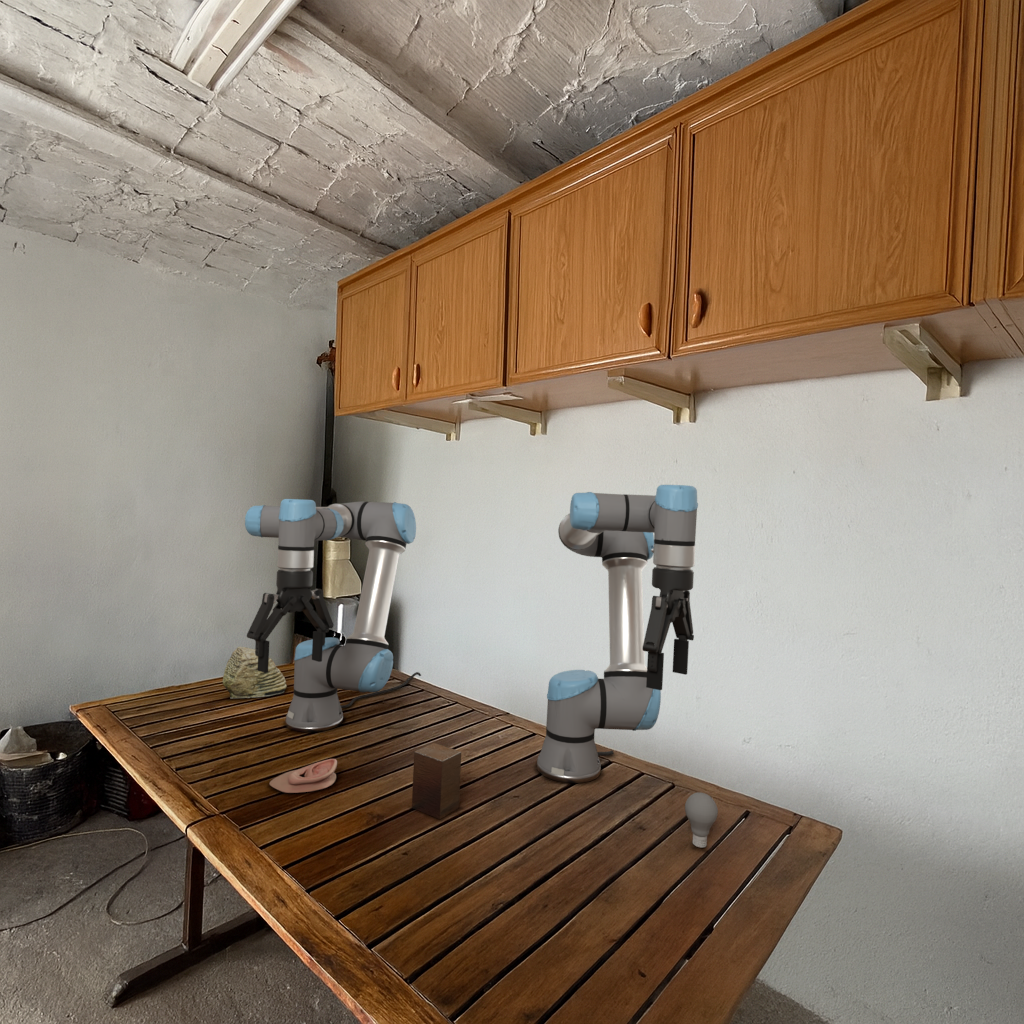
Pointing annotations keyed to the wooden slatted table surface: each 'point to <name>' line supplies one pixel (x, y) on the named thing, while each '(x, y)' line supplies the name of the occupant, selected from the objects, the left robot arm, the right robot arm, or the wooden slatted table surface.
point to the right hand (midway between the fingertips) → (667, 680)
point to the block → (436, 780)
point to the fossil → (251, 676)
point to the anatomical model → (307, 778)
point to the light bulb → (701, 816)
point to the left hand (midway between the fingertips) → (290, 665)
